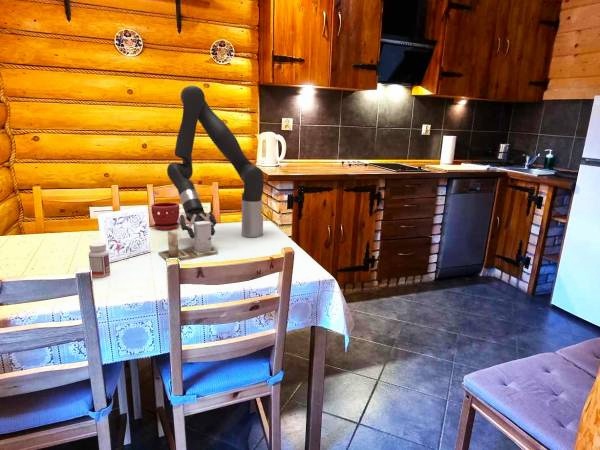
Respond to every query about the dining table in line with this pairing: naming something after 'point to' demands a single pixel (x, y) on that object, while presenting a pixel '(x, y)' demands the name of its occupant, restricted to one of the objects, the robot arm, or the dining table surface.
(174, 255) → the peg
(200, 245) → the skincare box
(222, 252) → the dining table surface
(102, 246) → the pill bottle
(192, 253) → the board
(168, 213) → the plant pot
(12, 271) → the dining table surface
